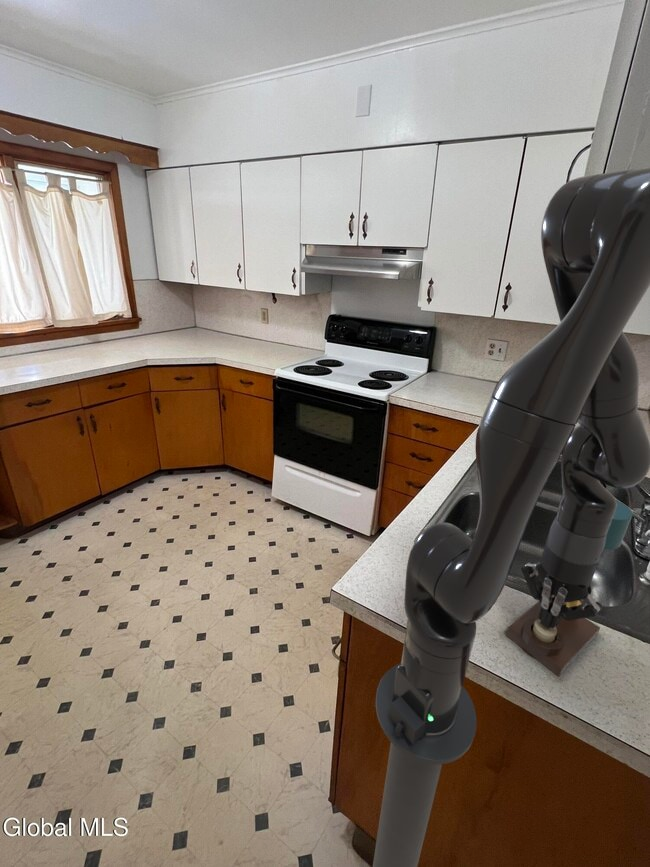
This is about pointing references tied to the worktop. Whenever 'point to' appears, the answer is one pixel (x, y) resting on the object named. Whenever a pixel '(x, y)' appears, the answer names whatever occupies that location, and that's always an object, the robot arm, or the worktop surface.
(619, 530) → the lamp
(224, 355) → the worktop surface
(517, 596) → the worktop surface
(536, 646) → the lamp base
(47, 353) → the worktop surface
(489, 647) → the worktop surface
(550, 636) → the lamp switch
